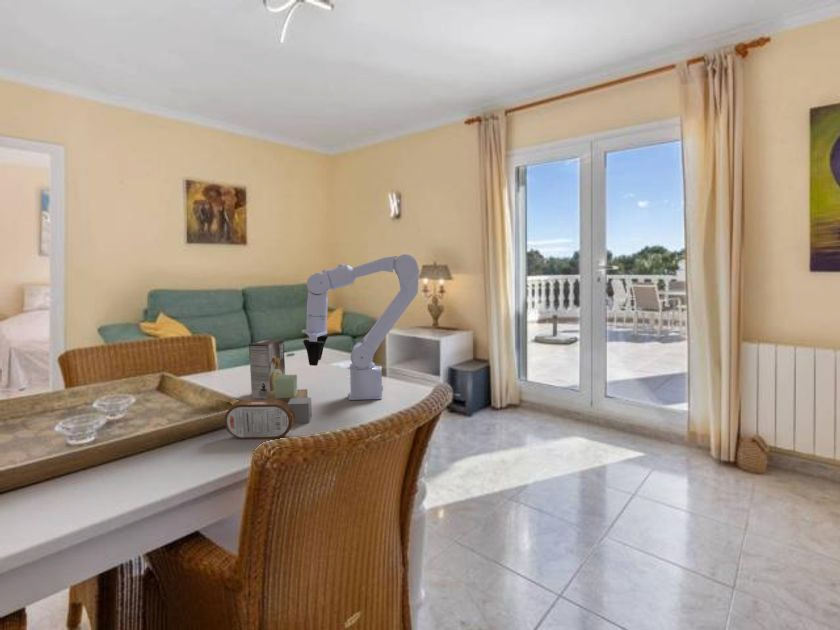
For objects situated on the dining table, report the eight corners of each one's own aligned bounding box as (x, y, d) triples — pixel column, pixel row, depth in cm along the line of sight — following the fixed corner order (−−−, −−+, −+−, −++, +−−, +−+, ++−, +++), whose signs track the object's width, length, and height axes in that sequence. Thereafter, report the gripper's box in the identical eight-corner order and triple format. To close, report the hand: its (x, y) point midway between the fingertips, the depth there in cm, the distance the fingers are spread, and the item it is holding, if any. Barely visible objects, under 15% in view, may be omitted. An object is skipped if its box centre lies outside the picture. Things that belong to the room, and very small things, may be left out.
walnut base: (307, 403, 130) (307, 389, 129) (304, 414, 120) (304, 399, 119) (271, 404, 128) (270, 390, 128) (264, 416, 118) (264, 401, 118)
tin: (295, 434, 105) (294, 398, 104) (292, 439, 102) (291, 402, 101) (229, 435, 104) (227, 399, 103) (223, 441, 101) (221, 403, 100)
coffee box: (267, 389, 142) (265, 338, 140) (286, 390, 141) (284, 339, 139) (250, 398, 133) (248, 343, 131) (271, 399, 132) (268, 344, 130)
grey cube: (311, 416, 117) (311, 397, 117) (309, 423, 112) (308, 403, 112) (291, 417, 117) (291, 398, 116) (288, 424, 112) (287, 404, 111)
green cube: (297, 392, 126) (296, 374, 126) (294, 397, 121) (293, 379, 121) (278, 393, 126) (278, 375, 125) (274, 398, 121) (274, 379, 120)
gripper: (306, 312, 138) (305, 356, 139) (298, 317, 123) (296, 367, 125) (330, 313, 138) (328, 357, 140) (325, 319, 124) (323, 368, 125)
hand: (315, 362), depth 132 cm, fingers open, 7 cm apart
